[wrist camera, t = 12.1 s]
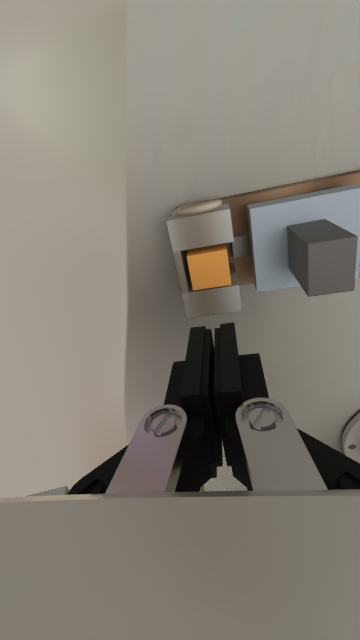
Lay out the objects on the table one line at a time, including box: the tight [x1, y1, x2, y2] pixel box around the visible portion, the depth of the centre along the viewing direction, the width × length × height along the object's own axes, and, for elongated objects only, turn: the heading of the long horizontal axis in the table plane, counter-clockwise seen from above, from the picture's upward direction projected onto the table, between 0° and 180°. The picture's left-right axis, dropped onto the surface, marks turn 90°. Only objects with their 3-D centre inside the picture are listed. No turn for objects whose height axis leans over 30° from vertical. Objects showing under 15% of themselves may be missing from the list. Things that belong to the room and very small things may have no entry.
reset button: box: [187, 243, 231, 290], centre depth 21 cm, size 3×2×4 cm
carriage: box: [247, 185, 360, 297], centre depth 19 cm, size 7×6×7 cm
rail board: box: [166, 170, 360, 318], centre depth 21 cm, size 23×7×6 cm, turn 101°
